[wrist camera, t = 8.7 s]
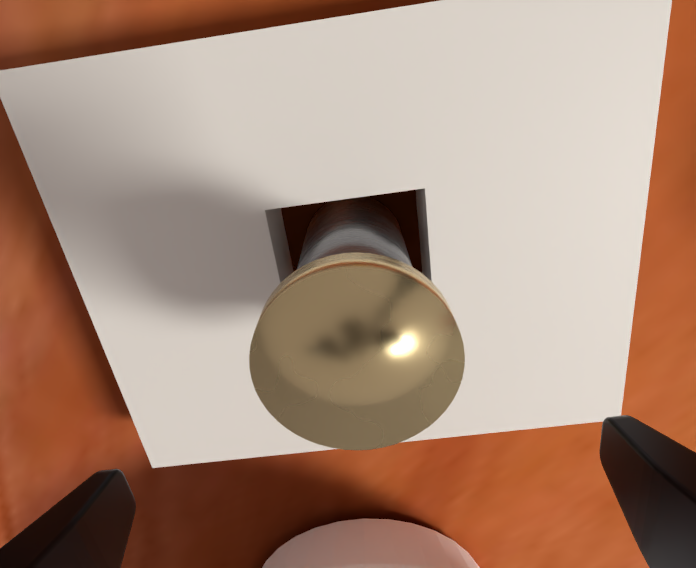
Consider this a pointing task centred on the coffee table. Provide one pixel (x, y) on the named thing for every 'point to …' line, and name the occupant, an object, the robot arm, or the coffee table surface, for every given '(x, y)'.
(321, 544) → the bowl
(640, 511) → the robot arm
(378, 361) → the metal pin
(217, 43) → the hole plate
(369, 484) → the coffee table surface
